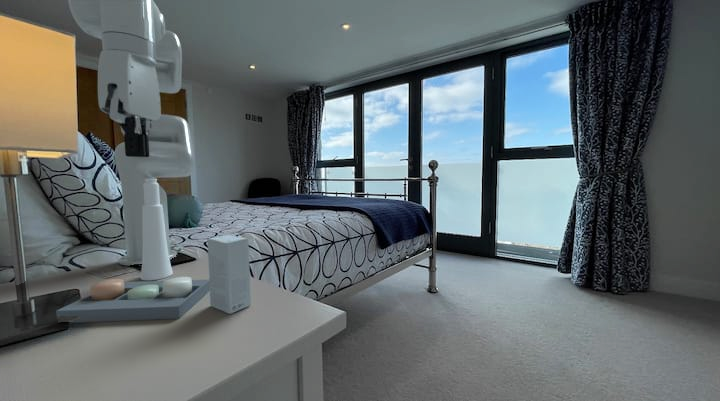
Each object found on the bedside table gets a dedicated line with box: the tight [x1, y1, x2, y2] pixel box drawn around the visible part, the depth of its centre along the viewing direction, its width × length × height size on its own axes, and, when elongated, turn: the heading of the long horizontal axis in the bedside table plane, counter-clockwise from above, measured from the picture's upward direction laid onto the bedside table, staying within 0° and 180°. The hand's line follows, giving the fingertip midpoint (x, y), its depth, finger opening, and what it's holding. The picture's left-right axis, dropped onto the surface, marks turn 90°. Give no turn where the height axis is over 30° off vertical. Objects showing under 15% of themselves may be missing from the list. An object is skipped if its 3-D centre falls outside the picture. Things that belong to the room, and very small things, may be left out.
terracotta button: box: [89, 278, 125, 301], centre depth 51 cm, size 4×4×2 cm
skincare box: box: [207, 234, 252, 315], centre depth 51 cm, size 6×4×12 cm
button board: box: [55, 279, 210, 324], centre depth 52 cm, size 12×18×2 cm, turn 95°
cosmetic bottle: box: [139, 178, 174, 281], centre depth 65 cm, size 6×6×22 cm
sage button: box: [127, 285, 159, 300], centre depth 52 cm, size 4×4×2 cm
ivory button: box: [162, 276, 193, 299], centre depth 52 cm, size 4×4×2 cm
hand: (137, 156), depth 54 cm, fingers closed
